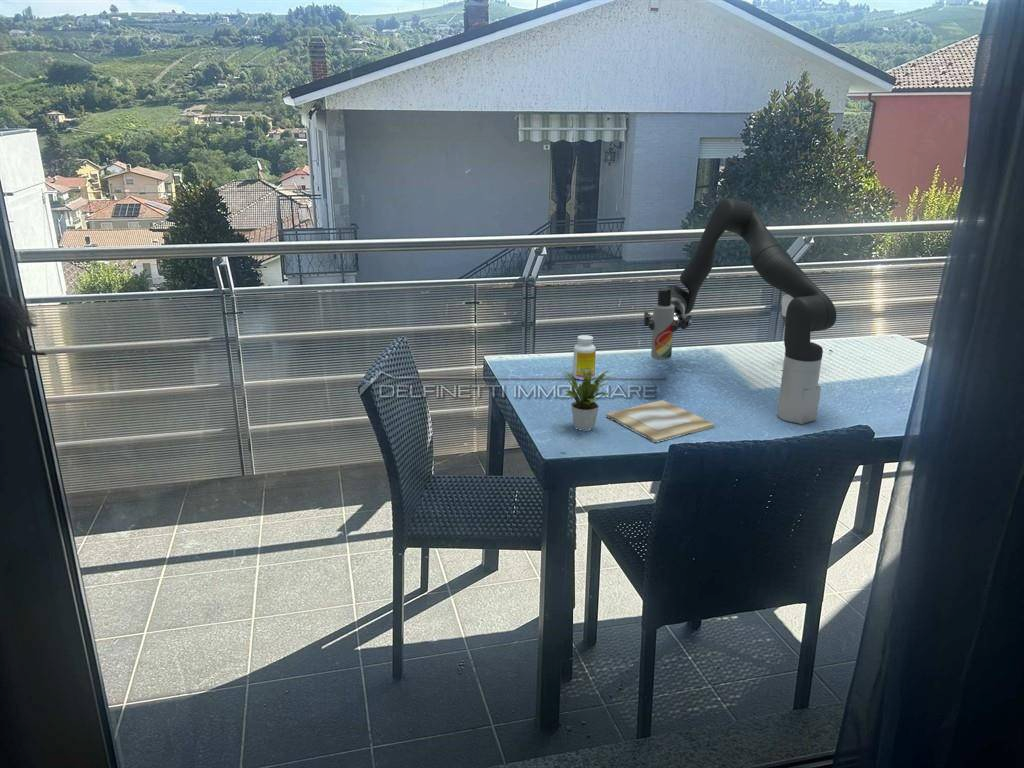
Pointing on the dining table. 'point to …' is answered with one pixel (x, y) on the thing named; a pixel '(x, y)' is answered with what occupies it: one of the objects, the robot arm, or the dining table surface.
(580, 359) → the supplement bottle
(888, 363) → the dining table surface
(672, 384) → the dining table surface
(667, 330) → the lotion bottle
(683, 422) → the dock
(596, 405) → the house plant
